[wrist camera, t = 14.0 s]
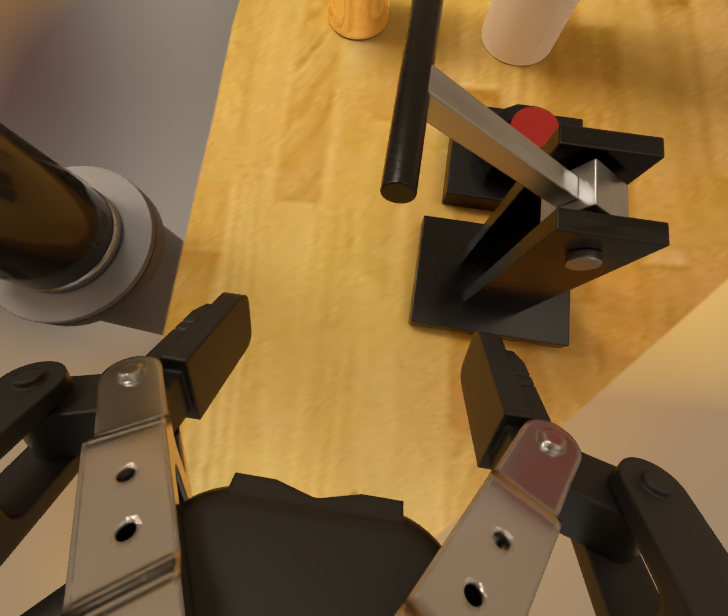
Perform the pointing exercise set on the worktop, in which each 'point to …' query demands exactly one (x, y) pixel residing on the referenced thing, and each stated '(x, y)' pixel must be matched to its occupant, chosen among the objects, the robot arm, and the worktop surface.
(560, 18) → the cylindrical container
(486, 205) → the block
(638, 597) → the robot arm
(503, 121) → the lever
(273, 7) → the worktop surface
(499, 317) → the lever bracket
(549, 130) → the button
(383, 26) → the beer glass
